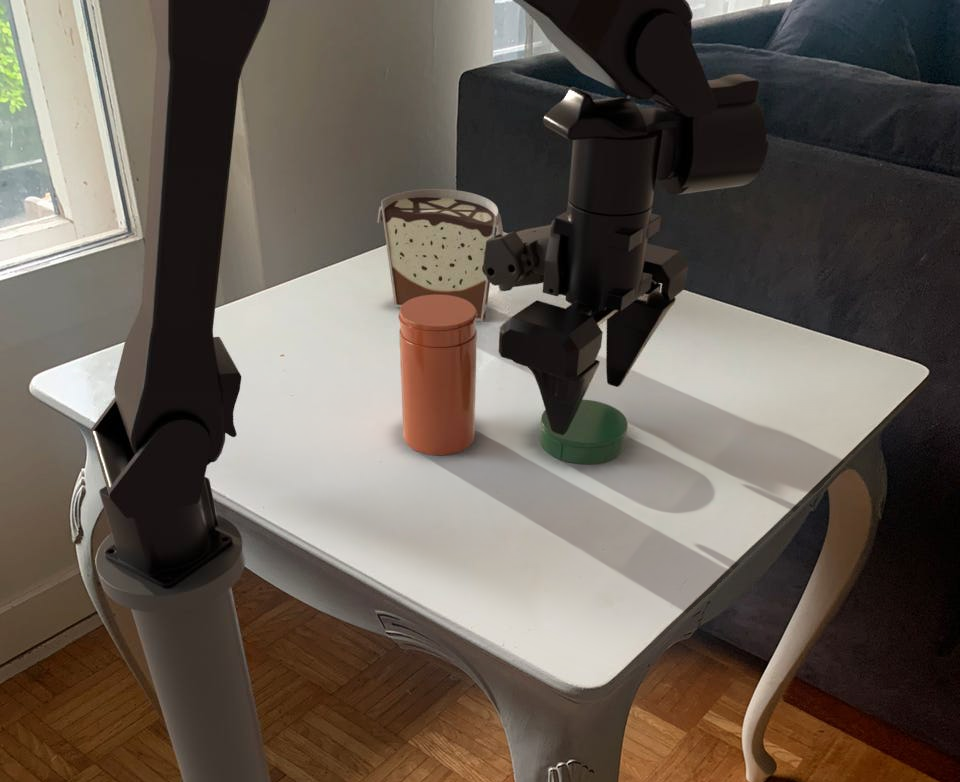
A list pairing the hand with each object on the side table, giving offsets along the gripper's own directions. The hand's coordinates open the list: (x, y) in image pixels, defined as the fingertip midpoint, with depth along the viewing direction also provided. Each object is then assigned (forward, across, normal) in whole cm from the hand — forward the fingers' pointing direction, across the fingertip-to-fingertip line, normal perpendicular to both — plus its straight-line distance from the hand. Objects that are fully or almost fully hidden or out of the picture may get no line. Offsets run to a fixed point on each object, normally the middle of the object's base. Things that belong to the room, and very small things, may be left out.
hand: (587, 407), depth 75 cm
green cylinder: (+2, 0, 0) cm, 2 cm away
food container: (+3, -16, -24) cm, 29 cm away
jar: (+3, +6, -10) cm, 12 cm away
